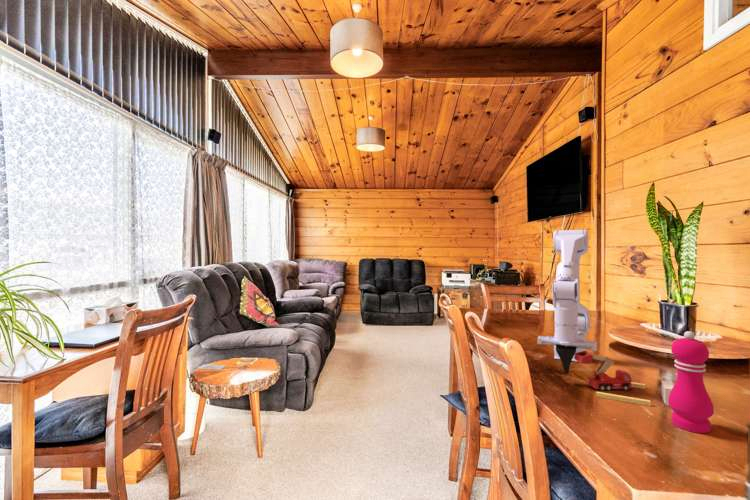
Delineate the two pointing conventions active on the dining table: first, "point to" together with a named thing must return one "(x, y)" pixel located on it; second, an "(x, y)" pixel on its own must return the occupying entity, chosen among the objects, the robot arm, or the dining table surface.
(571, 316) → the robot arm
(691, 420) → the pepper mill
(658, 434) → the dining table surface
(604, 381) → the toy fire truck
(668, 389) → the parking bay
